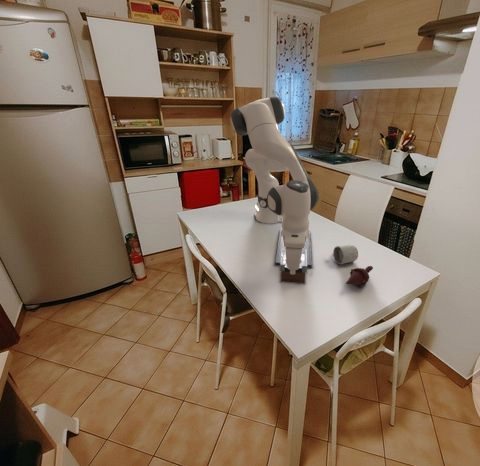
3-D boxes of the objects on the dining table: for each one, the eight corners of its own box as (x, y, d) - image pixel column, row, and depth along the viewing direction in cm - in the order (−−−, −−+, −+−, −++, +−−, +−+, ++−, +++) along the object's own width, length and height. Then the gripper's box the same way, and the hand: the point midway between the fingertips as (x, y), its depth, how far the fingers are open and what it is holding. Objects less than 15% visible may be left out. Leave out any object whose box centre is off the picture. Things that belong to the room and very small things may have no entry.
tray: (311, 268, 109) (311, 264, 108) (275, 265, 110) (275, 262, 109) (309, 233, 136) (309, 230, 135) (280, 231, 137) (280, 228, 137)
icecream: (358, 284, 90) (381, 271, 98) (342, 269, 94) (366, 258, 103) (350, 297, 94) (373, 283, 102) (335, 282, 98) (358, 271, 107)
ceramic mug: (358, 264, 111) (360, 248, 108) (341, 267, 109) (343, 251, 105) (343, 252, 120) (346, 237, 117) (328, 255, 118) (330, 240, 114)
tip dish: (306, 277, 95) (307, 270, 93) (279, 275, 95) (279, 268, 94) (306, 255, 108) (306, 248, 106) (281, 254, 109) (282, 246, 107)
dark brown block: (304, 283, 100) (305, 273, 97) (280, 281, 100) (281, 271, 98) (304, 269, 108) (305, 259, 105) (282, 268, 108) (282, 258, 106)
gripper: (287, 217, 97) (285, 249, 103) (283, 245, 78) (282, 282, 85) (304, 218, 96) (302, 250, 102) (304, 246, 78) (301, 283, 84)
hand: (293, 265), depth 93 cm, fingers open, 8 cm apart
